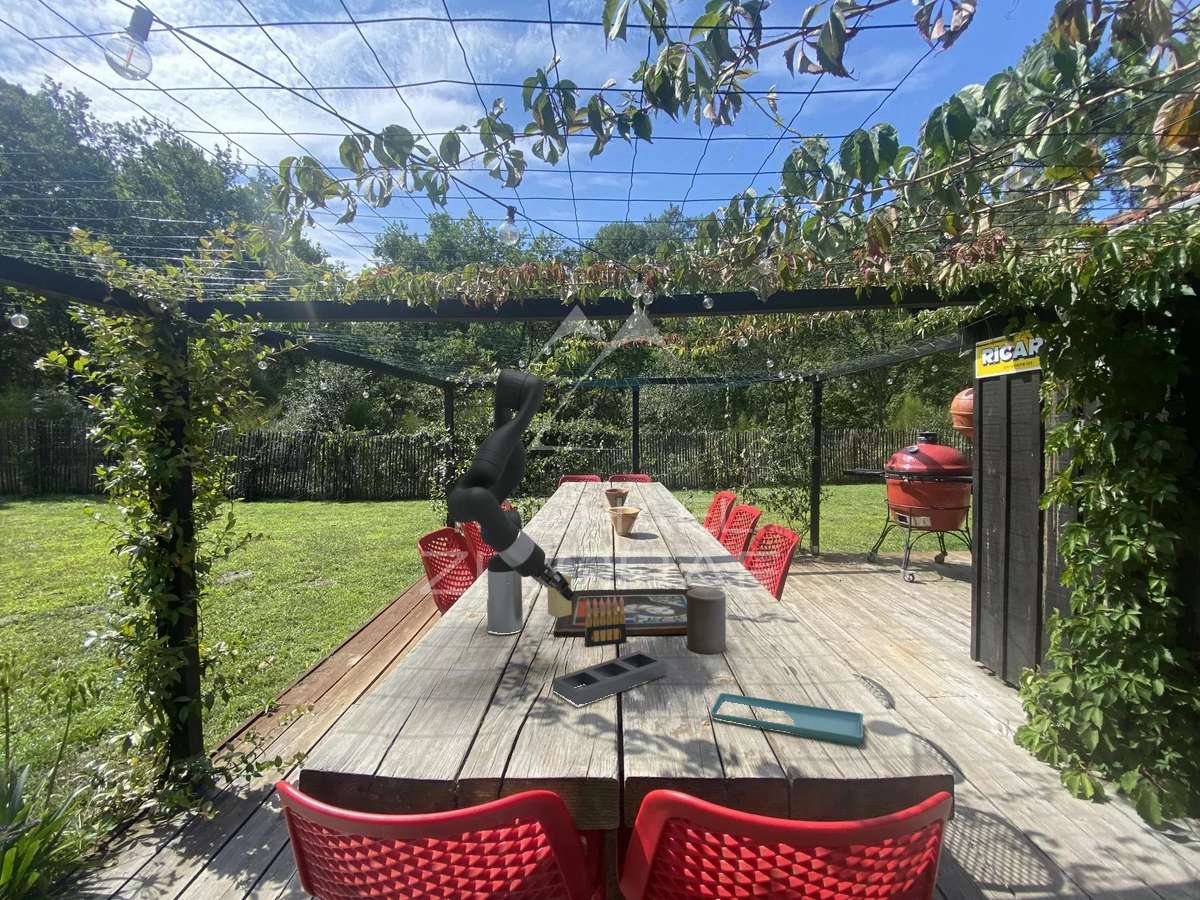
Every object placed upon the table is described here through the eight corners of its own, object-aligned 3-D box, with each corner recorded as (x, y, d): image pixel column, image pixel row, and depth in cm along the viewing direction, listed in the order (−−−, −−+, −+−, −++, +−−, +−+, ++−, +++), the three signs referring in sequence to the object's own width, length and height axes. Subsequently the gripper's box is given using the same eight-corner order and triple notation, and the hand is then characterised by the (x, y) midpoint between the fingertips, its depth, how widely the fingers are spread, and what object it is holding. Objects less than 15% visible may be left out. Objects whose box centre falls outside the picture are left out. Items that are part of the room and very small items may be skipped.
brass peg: (557, 617, 135) (556, 579, 134) (547, 613, 138) (547, 575, 137) (571, 614, 137) (570, 576, 137) (562, 610, 140) (561, 573, 140)
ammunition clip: (625, 640, 152) (624, 594, 152) (626, 643, 150) (625, 596, 150) (584, 644, 150) (583, 598, 149) (586, 647, 148) (584, 600, 148)
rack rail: (577, 708, 115) (577, 693, 115) (553, 692, 122) (552, 678, 122) (666, 675, 130) (666, 662, 130) (639, 663, 137) (639, 650, 137)
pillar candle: (683, 652, 143) (682, 591, 143) (690, 638, 152) (690, 581, 152) (723, 657, 140) (723, 595, 139) (728, 642, 149) (728, 584, 148)
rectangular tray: (709, 723, 109) (709, 710, 109) (720, 702, 117) (720, 690, 117) (863, 752, 98) (863, 737, 98) (863, 726, 107) (863, 713, 107)
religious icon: (723, 635, 154) (723, 624, 154) (553, 640, 155) (552, 629, 155) (700, 594, 194) (700, 585, 194) (565, 598, 195) (564, 589, 195)
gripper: (547, 543, 126) (593, 588, 134) (515, 534, 138) (559, 576, 146) (526, 571, 123) (574, 616, 131) (495, 559, 135) (541, 601, 143)
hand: (566, 595), depth 138 cm, fingers closed on brass peg, 4 cm apart
